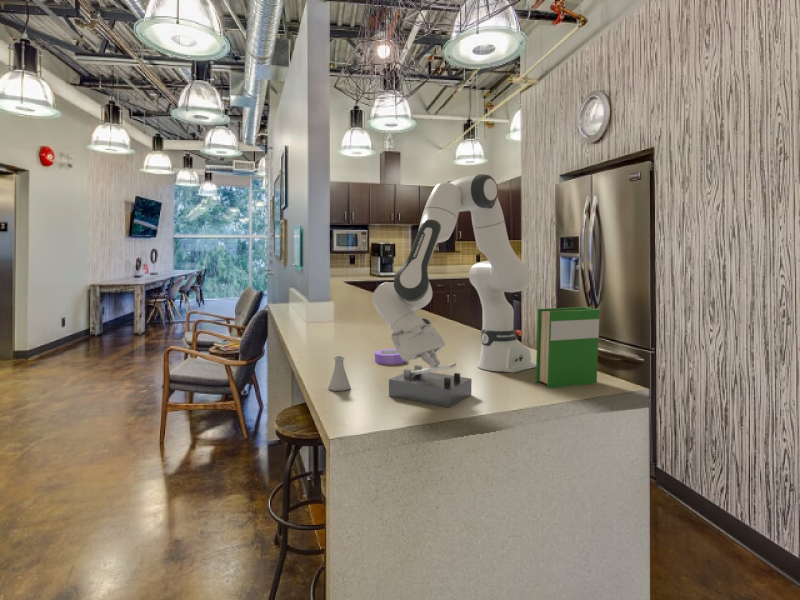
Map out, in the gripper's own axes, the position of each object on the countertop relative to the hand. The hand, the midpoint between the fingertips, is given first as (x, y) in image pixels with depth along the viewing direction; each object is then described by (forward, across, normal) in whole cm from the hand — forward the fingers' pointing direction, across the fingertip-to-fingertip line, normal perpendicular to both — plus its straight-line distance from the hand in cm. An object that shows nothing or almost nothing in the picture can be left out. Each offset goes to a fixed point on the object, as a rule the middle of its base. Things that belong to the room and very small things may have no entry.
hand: (436, 365), depth 139 cm
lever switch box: (+5, 0, +8) cm, 9 cm away
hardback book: (+26, +37, -13) cm, 47 cm away
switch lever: (0, 0, +2) cm, 2 cm away
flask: (-14, -9, +28) cm, 32 cm away
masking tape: (-20, +30, +34) cm, 49 cm away
